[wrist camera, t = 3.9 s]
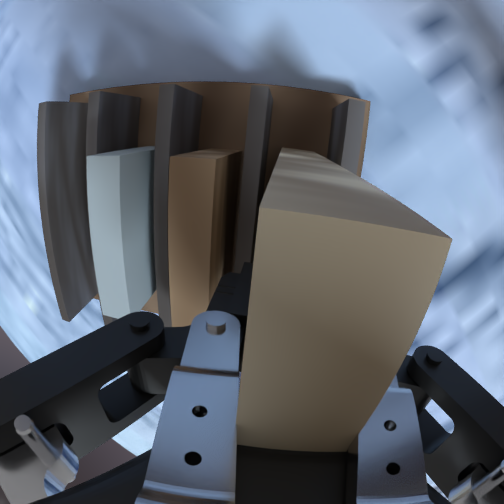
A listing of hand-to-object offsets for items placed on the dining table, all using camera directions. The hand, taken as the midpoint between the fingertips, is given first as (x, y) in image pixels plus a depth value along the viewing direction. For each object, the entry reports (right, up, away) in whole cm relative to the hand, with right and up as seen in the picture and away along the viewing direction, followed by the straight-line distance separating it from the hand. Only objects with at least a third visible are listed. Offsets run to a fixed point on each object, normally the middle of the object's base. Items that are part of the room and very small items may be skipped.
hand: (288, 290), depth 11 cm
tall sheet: (+1, +3, +8) cm, 9 cm away
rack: (-6, +5, +10) cm, 12 cm away
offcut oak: (-3, +4, +8) cm, 10 cm away
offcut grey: (-8, +4, +9) cm, 12 cm away
